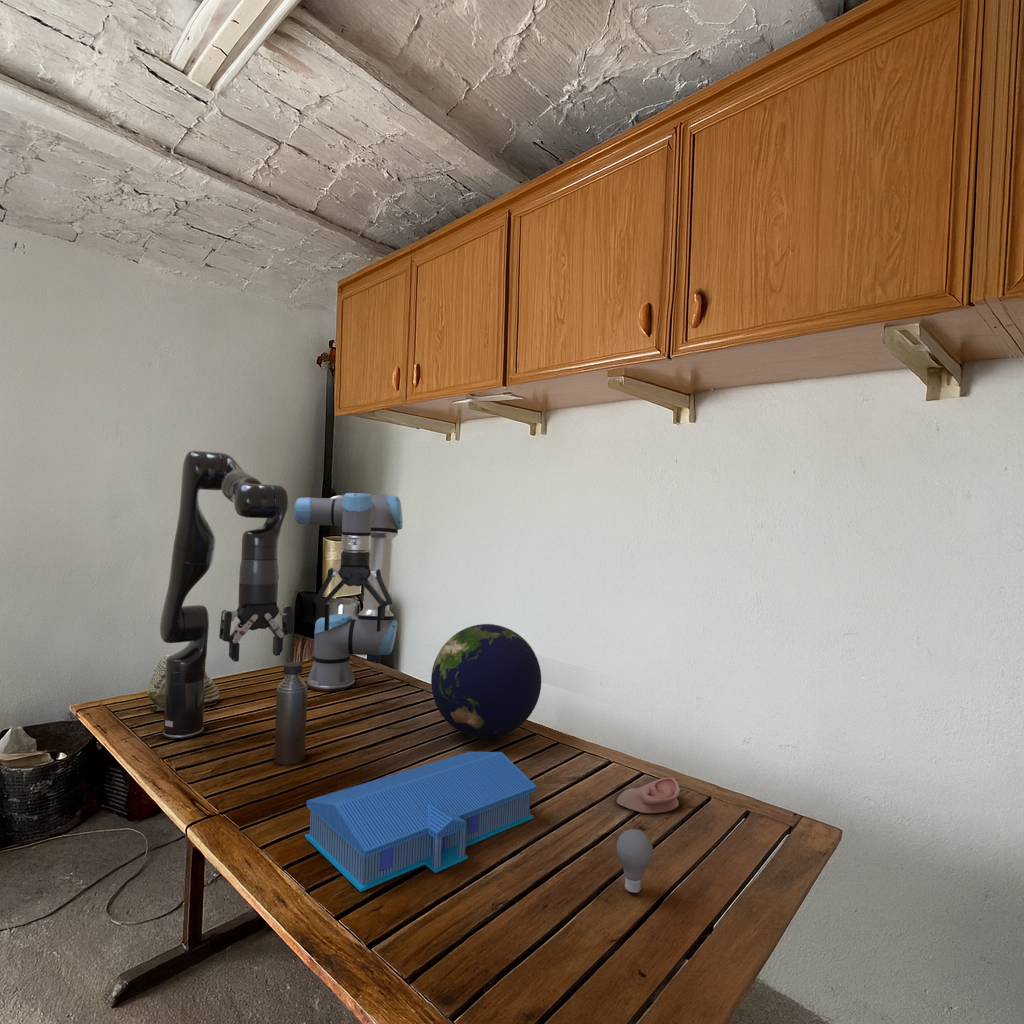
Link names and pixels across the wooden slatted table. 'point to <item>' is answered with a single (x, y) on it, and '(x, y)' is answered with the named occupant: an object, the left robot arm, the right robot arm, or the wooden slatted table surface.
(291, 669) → the cap
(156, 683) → the fossil
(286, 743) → the bottle
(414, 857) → the model building
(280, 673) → the wooden slatted table surface
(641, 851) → the light bulb
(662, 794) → the anatomical model
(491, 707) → the globe
